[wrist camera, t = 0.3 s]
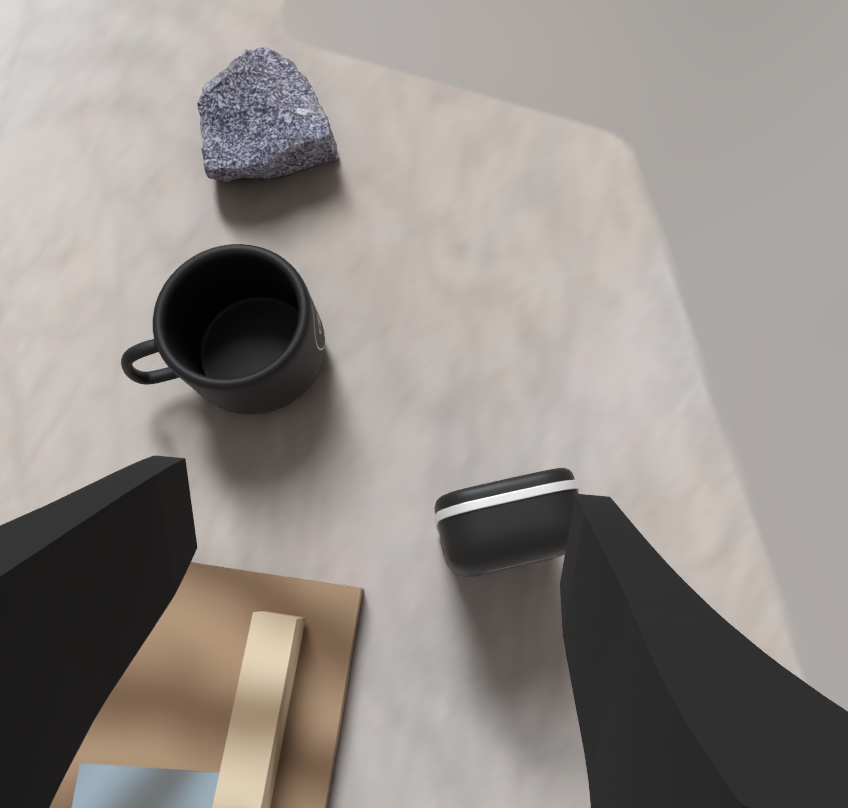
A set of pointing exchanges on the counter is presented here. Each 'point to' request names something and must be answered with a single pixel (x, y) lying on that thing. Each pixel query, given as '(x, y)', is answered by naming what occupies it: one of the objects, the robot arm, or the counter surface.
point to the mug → (235, 330)
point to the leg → (259, 712)
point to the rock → (262, 120)
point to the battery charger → (506, 522)
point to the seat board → (217, 697)
